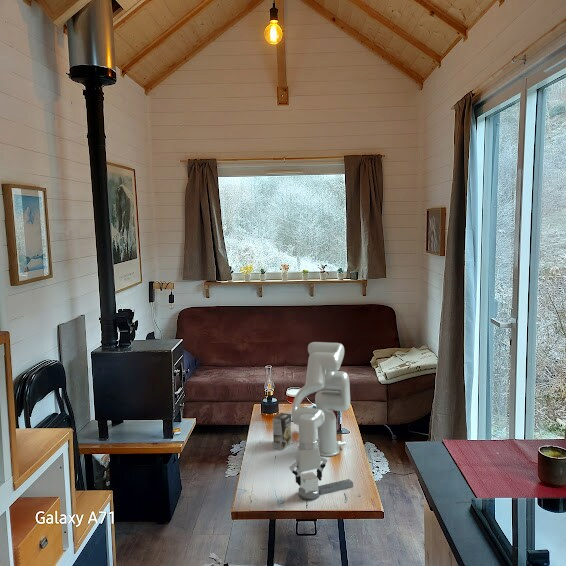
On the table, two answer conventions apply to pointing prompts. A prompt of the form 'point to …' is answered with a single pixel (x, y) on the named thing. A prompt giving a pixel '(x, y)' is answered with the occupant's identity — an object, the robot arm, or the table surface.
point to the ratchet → (326, 489)
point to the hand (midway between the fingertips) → (308, 481)
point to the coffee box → (282, 431)
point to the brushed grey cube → (309, 482)
